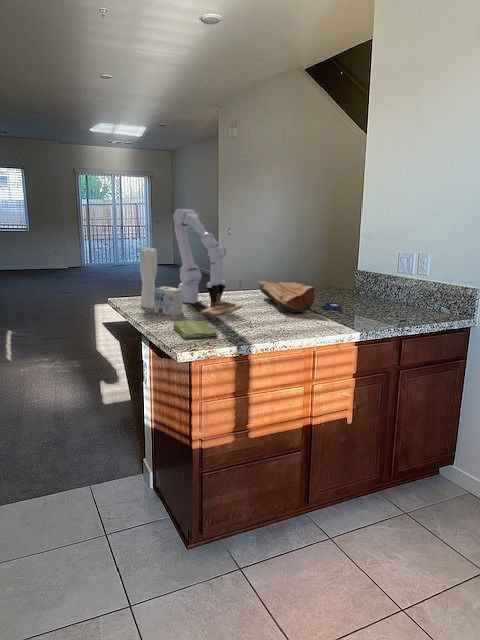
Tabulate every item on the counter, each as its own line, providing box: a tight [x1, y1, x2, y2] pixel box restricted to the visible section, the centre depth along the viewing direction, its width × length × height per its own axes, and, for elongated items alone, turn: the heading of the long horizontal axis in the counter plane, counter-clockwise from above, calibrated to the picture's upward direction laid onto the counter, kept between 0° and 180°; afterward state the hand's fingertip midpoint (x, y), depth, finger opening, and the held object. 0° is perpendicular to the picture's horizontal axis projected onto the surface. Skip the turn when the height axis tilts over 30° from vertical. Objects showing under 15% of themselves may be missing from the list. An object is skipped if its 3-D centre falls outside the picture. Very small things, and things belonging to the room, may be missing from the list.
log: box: [257, 280, 316, 313], centre depth 226 cm, size 42×18×15 cm, turn 10°
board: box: [200, 304, 243, 317], centre depth 211 cm, size 9×23×1 cm, turn 155°
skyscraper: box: [139, 244, 158, 309], centre depth 210 cm, size 8×8×28 cm
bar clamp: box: [321, 301, 355, 319], centre depth 216 cm, size 32×2×10 cm
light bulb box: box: [153, 286, 184, 317], centre depth 200 cm, size 11×7×11 cm, turn 62°
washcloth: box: [172, 321, 218, 340], centre depth 170 cm, size 13×18×3 cm
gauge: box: [209, 293, 236, 308], centre depth 217 cm, size 12×4×7 cm, turn 65°
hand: (215, 301), depth 219 cm, fingers closed on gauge, 4 cm apart
